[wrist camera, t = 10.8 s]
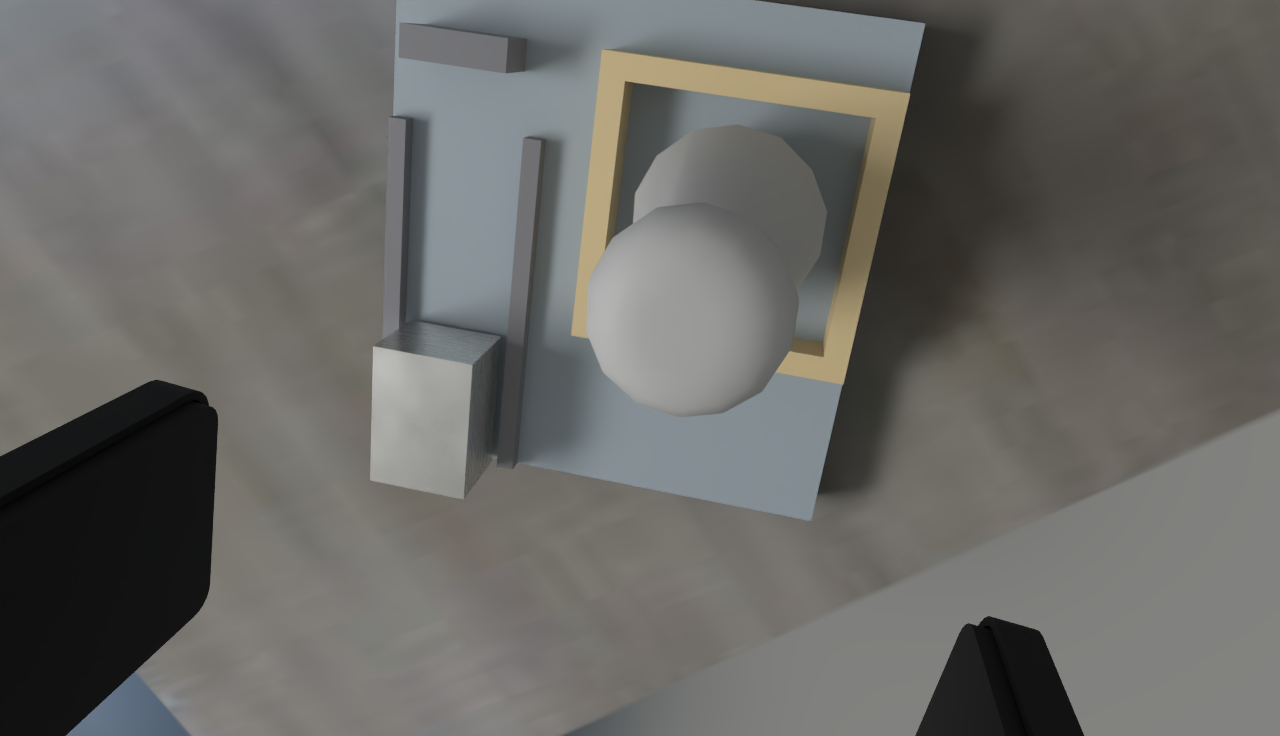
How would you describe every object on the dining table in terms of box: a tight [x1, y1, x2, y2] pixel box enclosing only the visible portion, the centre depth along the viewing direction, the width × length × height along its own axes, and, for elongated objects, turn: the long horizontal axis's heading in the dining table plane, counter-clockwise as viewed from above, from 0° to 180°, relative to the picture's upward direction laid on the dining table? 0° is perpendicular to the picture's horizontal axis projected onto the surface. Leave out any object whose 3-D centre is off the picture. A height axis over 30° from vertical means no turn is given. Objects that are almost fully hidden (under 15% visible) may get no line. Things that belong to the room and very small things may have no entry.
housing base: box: [383, 0, 926, 521], centre depth 30 cm, size 17×16×4 cm
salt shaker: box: [586, 124, 827, 417], centre depth 23 cm, size 6×6×13 cm
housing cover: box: [370, 320, 501, 499], centre depth 31 cm, size 5×3×3 cm
